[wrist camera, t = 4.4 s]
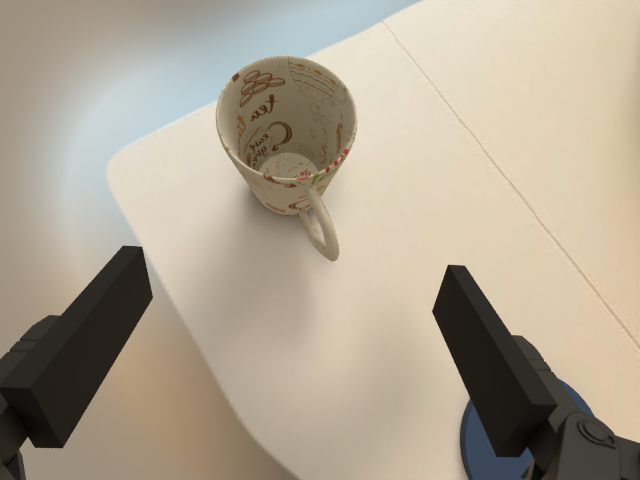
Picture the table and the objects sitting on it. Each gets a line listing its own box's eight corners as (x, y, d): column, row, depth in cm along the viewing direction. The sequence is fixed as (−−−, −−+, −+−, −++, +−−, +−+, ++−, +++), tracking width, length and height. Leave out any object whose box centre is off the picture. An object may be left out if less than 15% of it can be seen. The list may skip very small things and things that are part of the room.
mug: (310, 126, 31) (319, 37, 21) (375, 247, 29) (418, 209, 19) (224, 160, 30) (193, 82, 20) (286, 291, 27) (284, 273, 18)
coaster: (487, 549, 24) (494, 556, 23) (442, 387, 27) (446, 389, 26) (620, 503, 26) (630, 509, 25) (565, 354, 28) (573, 355, 27)
